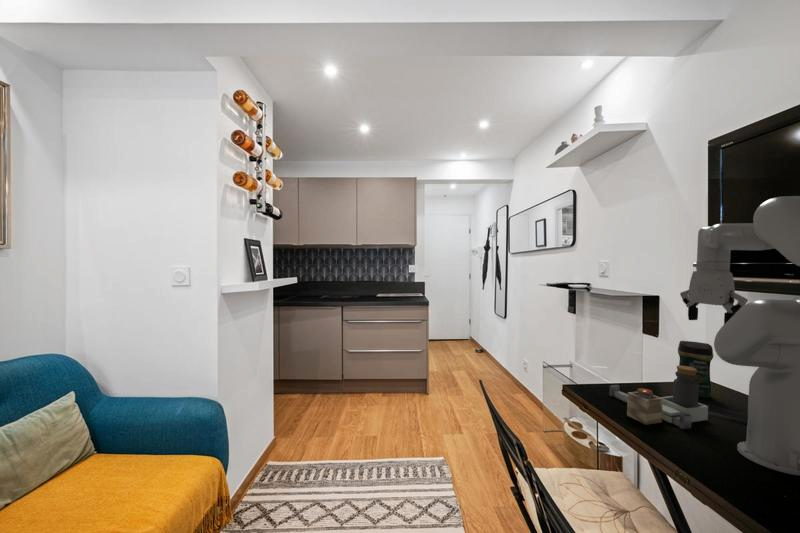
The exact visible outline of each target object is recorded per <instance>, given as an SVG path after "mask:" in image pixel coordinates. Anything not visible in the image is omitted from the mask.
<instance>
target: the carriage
mask: <svg viewBox="0 0 800 533" xmlns="http://www.w3.org/2000/svg"><path fill="white" fill-rule="evenodd" d="M659 397H660V396H659ZM660 398H662V399H663V405H662V421H666V422H668V423H670V424H673V423H672V417H671V416H674V415H677V416H679V417H680V415H685V414H689V415H692V423H696V422H701V421H702V422H703V421H708V417H709V415H708V406H706V405H703V404H700V402H698V407H692V408H685V407H682V406H680V405H677V404H675V403H673V395H670V396H662V397H660ZM664 413H665V414H664ZM666 414H667V415H666ZM668 415H669V416H668Z"/></svg>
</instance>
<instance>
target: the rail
mask: <svg viewBox="0 0 800 533" xmlns="http://www.w3.org/2000/svg"><path fill="white" fill-rule="evenodd" d="M608 396H610V397H613V398H616V399H618V400H620V401H622V402H624V403H627V401H628V393H626V392H623V391H620V385H618V384H612V385H609V394H608ZM664 414H665V413H664ZM666 415H667V414H666ZM668 416H669V415H668ZM671 417H672V423H671V424H673V425H675V426H677V427H679V429H682V430H686V429H692V424H693V422H692V415H689V414H685V415H680V417H679V416H677V415H674V416H671Z"/></svg>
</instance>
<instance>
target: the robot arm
mask: <svg viewBox="0 0 800 533" xmlns="http://www.w3.org/2000/svg"><path fill="white" fill-rule="evenodd" d="M752 220H753V222H751V223H749V222H748V223H745V222H744V223H743V222H740V223H738V222H737V223H715V224H713V225H712V226H704V227H701V228H700V229H698V233H697V247H696V249H697V252H696V253H697V254H696V262H693V263H692V267H693V268H695V270H693V272H692V275H691V277H690V280H689V281H690V282H689V287H688V289H687V290H684V291H681V292H680V293H679V296H680V297H681V299H682V302H683V303H684V304H685V306H686V308H688V310H687V316H688V317H687V318H688V321H698V318H699V307H697V306H698V305H700V304H703V305H712V306H722V307H723V309H724V310H725V311H726V312H724V313H723V314H724V315H723V316H724V318H723V320H724V321H723V325H722V326H721V327H720V328H719V330H718V331H717V333H716V336H715V337H714V340H713V348H714V351H715V353H716V355H717V356H718V357H719V358H720V359H721V360H722V361H724V362H725V363H728V364H731V365H732V366H733V365H735V366H742V367H753V368H755V367H756V368H757V369H755V371H754V372H753V374H752V376H751V377H750V381H749V384H748V400H747V401H748V402H747V414H748V419H747V426H746V439H745V441H740V442H738V443H737V446H736V448H737V449H736V450H737V451H738V453H739V454H740V455H741V456H743V457H744V458H746V459H747V460H749V461H752V462H753V463H755V464H758V465H760V466H762V467H764V468H765V467H766V468H767V469H770V470H774V471H776V472H780V473H784V474H788V475H793V476H799V477H800V298H798V299H797V298H796V299H775V298H772V299H771V298H770V299H769V298H768V299H766V298H765V299H757V300H753V301H751V302H750V301H749V299H747V298H746V297H744V296H742V295H740V294H739V293H737V292H736V291H735V290H736V288H735V280H734V279H735V278H734V275H733V272H731V270H730V268H731V251H765V250H772V249H775V250H776V251H778V252H779V253H780V254H781V255H782V256H784V257H785V259H786V260H787V261H789V262H790V263H793V264H795V266H798V267H800V195H799V196H798V195H791V196H790V195H789V196H788V195H787V196H777V197H773V198H769V199H767V200H765V201H764V202H762V203H760V205H759V206H758V207H757V208H756V210H755V211H754V214H753V218H752ZM735 300H736V301H737V302H736V304H735ZM748 301H749V302H748Z"/></svg>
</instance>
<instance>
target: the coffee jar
mask: <svg viewBox="0 0 800 533" xmlns="http://www.w3.org/2000/svg"><path fill="white" fill-rule="evenodd" d="M713 351H714V350H713V346H712V345H711V344H709V343H708V342H707V343H706V342H699V341H688V340H680V341H679V344H678V347H677V353H678V357H679V365H678V366H688V367H692V368H695V369H697V372H696V375H697V379H696V380H695V382H696V383H697V384H698V385H699V392H698V398H704V399H705V398H706V399H708V398H711V397H712V384H711V383H712V382H711V362H712V360H713V358H714V352H713ZM677 378H678V376H676V379H677Z"/></svg>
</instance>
